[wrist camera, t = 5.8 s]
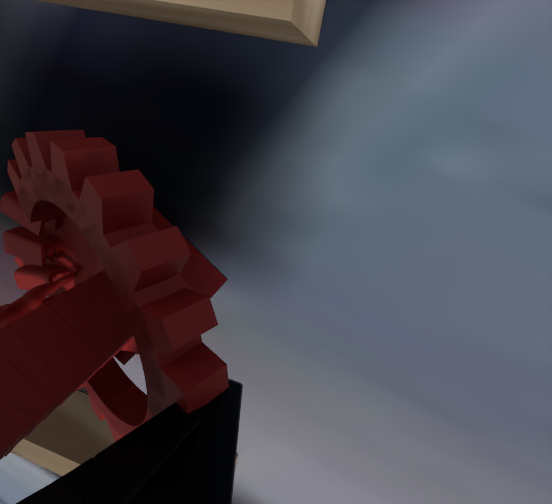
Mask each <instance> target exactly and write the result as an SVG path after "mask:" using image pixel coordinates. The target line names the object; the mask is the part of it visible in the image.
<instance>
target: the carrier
mask: <svg viewBox="0 0 552 504" xmlns="http://www.w3.org/2000/svg"><path fill="white" fill-rule="evenodd" d="M36 1H42V2H48V3H54V4H60V5H66V6H72V7H78V8H84V9H90V10H96V11H102V12H108V13H114V14H121V15H127V16H133V17H139V18H145V19H151V20H157V21H163V22H169V23H175V24H181V25H187V26H193V27H199V28H206V29H212V30H218V31H224V32H230V33H236V34H242V35H248V36H254V37H260V38H266V39H272V40H278V41H284V42H291V43H297V44H303V45H309V46H315V47H317V44H318V39H319V33H320V28H321V23H322V18H323V13H324V8H325V2H326V0H36ZM114 442H116V441H115V440H114V439H113V436H112V433H111V431H110V428H109V425H108V423H107V420H106V418H104V419H103V420H101V421H100V419H99V418H98V416H97V415H96V413H95V412H94V410H93V409H92V406H91V402H90V399H89V395H88V394H85V393H83V392H80V391H78V390H77V391H76V392H75V393H74V392H73V393H72V394H71V395H70V396H69V398H68V399H67V400H66V401H65V402H64V403H63V404H62V405H61V406H58V407H57V408H56V409H55V410H54V411H53V412H52V413H51V414H50V415H49V417H48V418H47V419H46V420H44V421H42V422H41V423H40V424H39V425H38V426H37V427H36V428H35V429H34V430H33V431H32V432H31V433H30V434H29V435H28V436H27V437H26V438H23V439H22V440H21V441H20V442H19V443H18V444H17V445H16V446H15V447H14V448H13V450H12V451H11V453H13V454H16V455H18V456H20V457H22V458H24V459H26V460H29V461H31V462H33V463H35V464H37V465H40V466H42V467H44V468H46V469H48V470H50V471H53V472H55V473H57V474H59V475H61V476H64V475H65V474H67V473H68V472H70V471H71V470H73V469H75V468H76V467H78V466H79V465H81V464H82V463H84V462H85V461H87V460H88V459H90V458H94V456H95V455H96V454H98V453H99V452H101V451H102V450H104V449H105V448H107V447H108V446H110V445H111V444H113V443H114ZM237 457H238V455H237V454H236V461H235V468H236V463H237ZM234 473H235V472H234Z"/></svg>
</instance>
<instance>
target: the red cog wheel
mask: <svg viewBox="0 0 552 504" xmlns="http://www.w3.org/2000/svg"><path fill="white" fill-rule="evenodd" d="M25 134H26V137H24V138H15V140H14V142H13V143H12V148H13V151H14V154H15V157H16V159H11V160H8V169H7V172H8V174H9V177H10V179H11V181H12V184H13V186H14V188H15V190H13V191H9V192H7V193H5V194H4V195H3V196H2V198H1V205H0V211H1V212H2V213H4V214H5V215H7V216H8V217H10V218H11V219H13V220H15V221H16V222H18V223H19V224H21V225H22V226H24V227H25V228H24V227H22V226H19V227H16V228H13V229H10V230H7V231H5V232H4V234H3V240H4V248H5V253H8V254H10V255H13V256H16V258H15V259H14V260H15V261H16V262H17V263H18V264H17V265H18V266H20V268H18V269H17V270H16V271H15V272H14V277H15V280H16V283H17V286H18V288H19V289H26V290H29V291H27V292H26V293H25V294H24V295H23V296H22V297H20V298H19V299H17V300H16V301H14V302H13V303H11V304H6V305H2V306H0V460H1V459H2V458H3V457H4V456H5V457H6V456H7V455H8V454H9V453H10V452H11V451H12V450H13V448H14V447H15V446H16V445H17V444H18V443H19V442H20V441H21V440H22V439H23V438H26V437H27V436H28V435H29V434H30V433H31V432H32V431H33V430H34V429H35V428H36V427H37V426H38V425H39V424H40V423H41V422H42V421H44V420H46V419H47V418H48V417H49V415H50V414H51V413H52V412H53V411H54V410H55V409H56V408H57V407H58V406H61V405H62V404H63V403H64V402H65V401H66V400H67V399H68V398H69V396H70V395H71V394H72V393H73V392H74V393H75V392H76V391H77V390H78V389H79V388H82V387H85V389H86V390H87V392H88V395H89V399H90V402H91V406H92V409H93V410H94V412H95V413H96V415H97V416H98V418H99V419H100V421H101V420H103V419H104V418H106V420H107V423H108V425H109V428H110V431H111V433H112V436H113V439H114V440H115V441H117V440H119V439H120V438H122V437H123V436H125V435H126V434H128V433H129V432H131V431H132V430H134V429H135V428H137V427H138V426H140V425H141V424H143V423H144V422H146V421H148V420H149V419H151V418H152V417H154V416H155V415H157V414H158V413H160V412H161V411H163V410H164V409H166V408H167V407H169V406H170V405H172V404H173V403H175V402H176V403H177V404H178V405H179V406H180V407H181V408H182V409H183V410H184V411H185V412H186V413H187V414H188V413H190V412H192V411H194V410H196V409H198V408H200V407H202V406H204V405H206V404H207V403H209V402H210V401H211V400H213V399H214V398H215V397H217V396H218V395H219V394H220V393H222V392H223V391H224V390H226V389H227V388H228V387H229V383H228V373H227V364H226V363H225V362H224V361H223V360H221V359H220V358H219V357H218V356H217V355H216V354H215V353H214V352H213V351H211V350H210V349H209V348H208V347H207V346H206V345H205V344H204V343H203V342H202V339H201V334H203V333H205V332H206V331H208V330H210V329H211V328H213V327H215V326H217V325H218V323H217V320H216V317H215V313H214V310H213V307H212V304H211V301H210V298H211V297H212V296H213V295H214V294H215V293H216V292H217V291H218V290H219V288H220V287H221V286H222V285H223V284H224V283H225V282H226V281H227V279H226V278H225V277H224V276H223V275H222V274H221V273H220V272H219V271H218V270H217V269H216V268H215V267H214V266H213V265H212V264H211V263H210V262H209V261H208V260H207V259H206V258H205V257H204V256H203V255H202V254H201V253H200V252H199V251H198V250H197V249H196V248H195V247H194V246H193V245H192V244H191V243H190V242H189V241H188V240H187V239H186V238H185V237H184V236H183V235H182V234H181V232H180V230H179V228H178V226H175V227H174V226H173V225H172V224H171V223H170V222H169V221H168V220H167V219H166V218H165V217H164V216H163V215H162V214H161V213H160V212H159V211H158V210H157V209H156V208H155V207H154V206H153V197H154V189H153V187H152V186H151V185H150V183H149V182H148V181H147V180H146V178H145V177H144V176H143V174H142V173H141V172H140V171H139V169H136V170H129V171H122V172H120V171H119V165H118V158H117V152H116V147H115V146H114V145H113V144H111V143H110V142H108V141H107V140H106V139H104V138H103V137H93V138H86V136H85V132H84V130H58V131H38V132H25ZM48 295H49V296H50V297H48V298H46V297H47V296H48ZM44 298H45V299H44ZM135 354H139V355H140V358H141V362H142V366H143V370H144V375H145V381H146V388H147V395H146V394H145V393H144V392H142V391H141V390H140V389H139V388H138V387H137V386H136V385H135V384H134V383H133V382H132V381H131V380H130V379H129V378H128V377H127V375H126V374H125V373H124V372H123V370H122V369H121V368H120V366H119V365H118V364H117V362H116V361H115V359H114V358H113V357H114V356H115V357H116V358H117V359H118V360H119V361H120V362H121V363H122V364H123V365H125V364H126V363H127V362H128V361H129V360H130V359H131V358H132V357H133V356H134V355H135Z"/></svg>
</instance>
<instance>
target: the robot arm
mask: <svg viewBox="0 0 552 504" xmlns="http://www.w3.org/2000/svg"><path fill="white" fill-rule="evenodd" d="M228 383H229V387H228V388H227V389H226V390H224V391H223V392H222V393H220V394H219V395H218V396H217V397H215V398H214V399H213V400H211V401H210V402H209V403H207V404H206V405H204V406H202V407H200V408H198V409H196V410H194V411H192V412H190V413H188V414H187V413H186V412H185V411H184V410H183V409H182V408H181V407H180V406H179V405H178V404H177V403H176V402H175V403H173V404H172V405H170V406H169V407H167V408H166V409H164V410H163V411H161V412H160V413H158V414H157V415H155V416H154V417H152V418H151V419H149V420H148V421H146V422H144V423H143V424H141V425H140V426H138V427H137V428H135V429H134V430H132V431H131V432H129V433H128V434H126V435H125V436H123V437H122V438H120V439H119V440H117V441H116V442H114V443H113V444H111V445H110V446H108V447H107V448H105V449H104V450H102V451H101V452H99V453H98V454H96V455H95V456H94V458H90V459H88V460H87V461H85V462H84V463H82V464H81V465H79V466H78V467H76V468H75V469H73V470H71V471H70V472H68V473H67V474H65V475H64V476H62V477H60V478H59V479H57V480H56V481H54V482H52V483H51V484H49V485H48V486H46V487H44V488H42V489H41V490H39V491H37V492H35V493H34V494H32V495H30V496H28V497H27V498H25V499H23V500H21V501H20V502H18V503H16V504H232V493H233V483H234V472H235V461H236V451H237V440H238V430H239V419H240V409H241V398H242V387H243V385H242V384H241V383H239V382H236V381H234V380H231V379H228Z"/></svg>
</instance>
